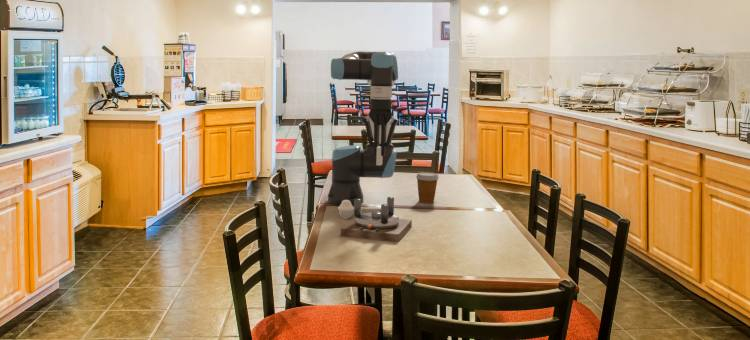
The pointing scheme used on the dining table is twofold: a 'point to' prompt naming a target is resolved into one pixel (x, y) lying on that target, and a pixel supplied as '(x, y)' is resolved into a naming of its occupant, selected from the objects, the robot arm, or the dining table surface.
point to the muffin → (346, 209)
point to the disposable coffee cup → (427, 186)
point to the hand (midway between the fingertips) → (379, 164)
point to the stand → (376, 231)
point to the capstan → (376, 216)
